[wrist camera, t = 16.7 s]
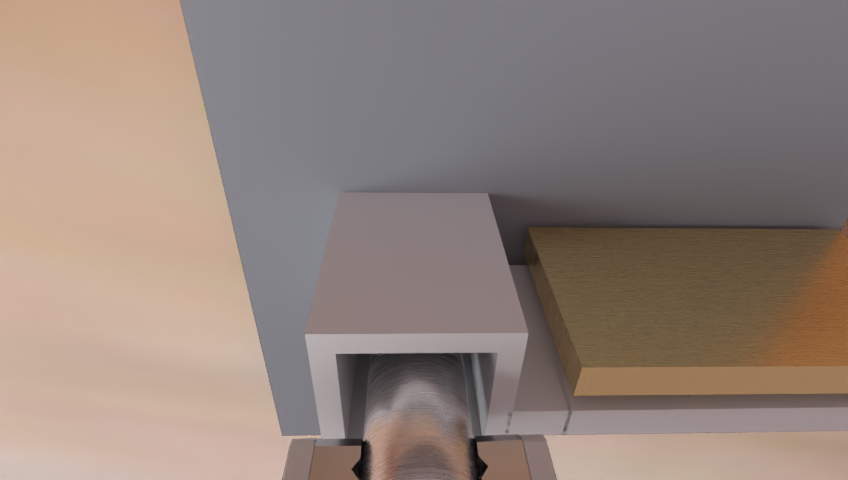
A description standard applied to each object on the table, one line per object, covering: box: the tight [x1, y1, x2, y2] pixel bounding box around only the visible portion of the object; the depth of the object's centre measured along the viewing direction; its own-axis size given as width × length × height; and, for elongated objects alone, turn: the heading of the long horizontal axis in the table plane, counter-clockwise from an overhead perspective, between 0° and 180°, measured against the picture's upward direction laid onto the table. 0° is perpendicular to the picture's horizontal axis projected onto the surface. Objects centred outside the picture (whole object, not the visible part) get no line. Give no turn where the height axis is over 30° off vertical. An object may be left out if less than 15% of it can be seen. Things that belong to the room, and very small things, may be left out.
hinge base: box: [180, 0, 848, 439], centre depth 15 cm, size 22×21×8 cm
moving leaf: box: [523, 227, 848, 396], centre depth 14 cm, size 1×11×6 cm, turn 89°
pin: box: [360, 353, 479, 480], centre depth 10 cm, size 2×2×10 cm
